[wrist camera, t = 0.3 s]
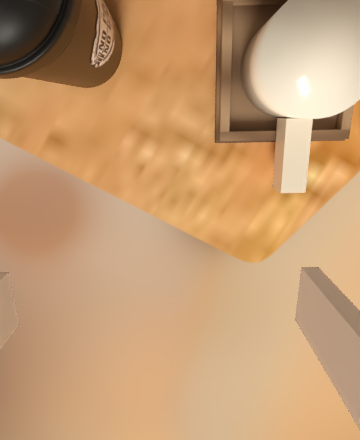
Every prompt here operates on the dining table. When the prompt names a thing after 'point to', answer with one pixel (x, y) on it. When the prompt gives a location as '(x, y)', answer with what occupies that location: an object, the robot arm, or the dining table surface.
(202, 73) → the dining table surface
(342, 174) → the dining table surface
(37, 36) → the water bottle
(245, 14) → the brown flat rectangular tray
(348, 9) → the white pot with handle
